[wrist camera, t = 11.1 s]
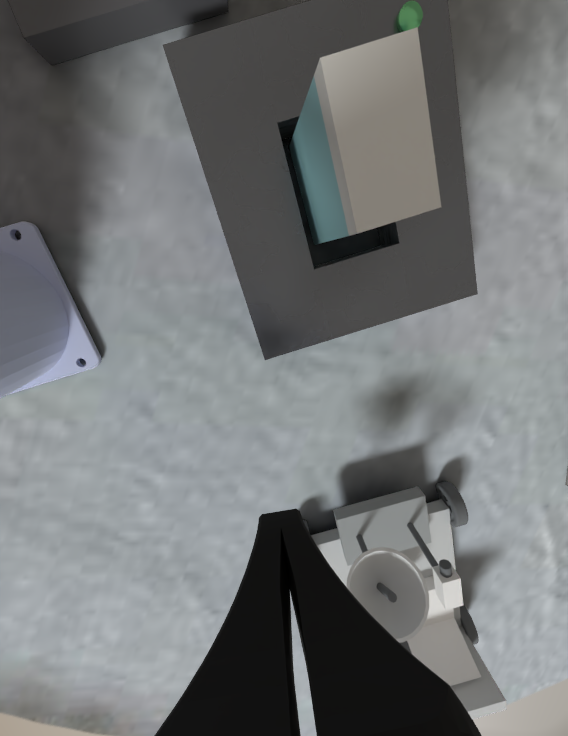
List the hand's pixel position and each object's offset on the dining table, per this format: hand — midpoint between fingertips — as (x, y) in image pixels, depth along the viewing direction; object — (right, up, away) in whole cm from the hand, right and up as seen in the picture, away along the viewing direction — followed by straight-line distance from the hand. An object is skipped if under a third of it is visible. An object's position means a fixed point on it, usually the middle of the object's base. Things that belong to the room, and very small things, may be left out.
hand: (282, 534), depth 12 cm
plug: (+2, +16, +6) cm, 17 cm away
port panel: (+3, +15, +6) cm, 17 cm away
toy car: (+8, -9, +15) cm, 20 cm away
